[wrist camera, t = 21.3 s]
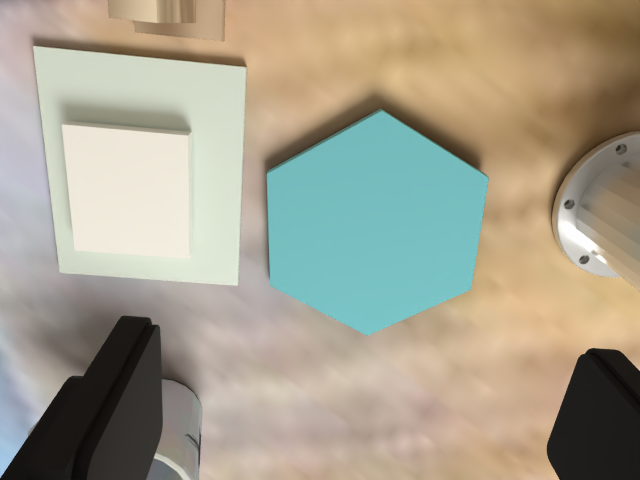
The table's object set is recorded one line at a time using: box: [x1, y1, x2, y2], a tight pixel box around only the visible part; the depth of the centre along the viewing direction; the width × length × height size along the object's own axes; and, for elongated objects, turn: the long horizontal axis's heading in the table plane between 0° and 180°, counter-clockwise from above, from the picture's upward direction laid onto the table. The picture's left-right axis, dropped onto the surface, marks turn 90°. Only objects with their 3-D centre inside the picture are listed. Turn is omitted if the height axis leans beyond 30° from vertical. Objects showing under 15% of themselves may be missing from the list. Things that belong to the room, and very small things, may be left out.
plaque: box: [267, 108, 489, 336], centre depth 42 cm, size 18×2×20 cm
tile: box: [62, 121, 193, 259], centre depth 39 cm, size 2×10×9 cm
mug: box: [28, 379, 202, 480], centre depth 44 cm, size 10×15×10 cm
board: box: [33, 46, 247, 286], centre depth 40 cm, size 15×18×1 cm
